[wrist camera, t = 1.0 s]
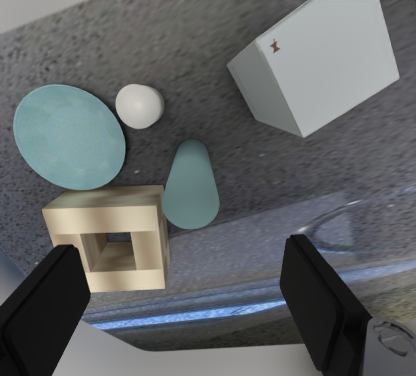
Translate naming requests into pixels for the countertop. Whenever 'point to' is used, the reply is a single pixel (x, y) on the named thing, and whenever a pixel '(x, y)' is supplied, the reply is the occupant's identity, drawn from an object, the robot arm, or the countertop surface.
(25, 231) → the countertop surface
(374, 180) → the countertop surface
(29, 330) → the robot arm
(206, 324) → the countertop surface
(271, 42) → the supplement box
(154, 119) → the short off-white stub
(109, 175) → the saucer
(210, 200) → the teal dowel
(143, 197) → the birch hole block
